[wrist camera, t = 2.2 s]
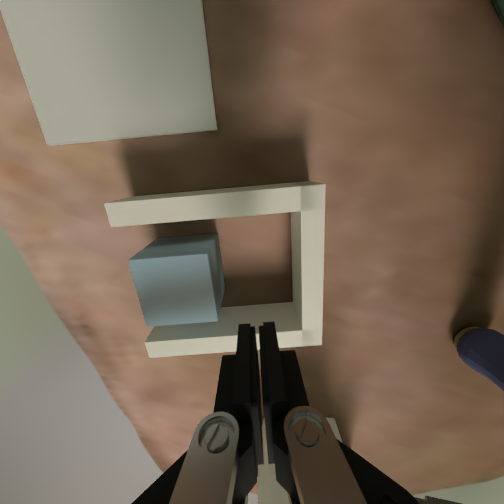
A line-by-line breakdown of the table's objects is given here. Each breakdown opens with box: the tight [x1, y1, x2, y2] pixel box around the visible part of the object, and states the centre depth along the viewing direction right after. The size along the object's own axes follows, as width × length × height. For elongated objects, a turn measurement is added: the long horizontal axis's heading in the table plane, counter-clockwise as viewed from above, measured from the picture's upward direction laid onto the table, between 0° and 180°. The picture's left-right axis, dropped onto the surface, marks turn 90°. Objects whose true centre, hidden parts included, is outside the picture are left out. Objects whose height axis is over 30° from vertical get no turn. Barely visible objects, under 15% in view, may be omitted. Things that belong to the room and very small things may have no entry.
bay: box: [104, 181, 325, 358], centre depth 18 cm, size 12×14×4 cm
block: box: [128, 233, 225, 327], centre depth 18 cm, size 5×5×5 cm
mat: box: [0, 0, 217, 146], centre depth 14 cm, size 12×12×1 cm
